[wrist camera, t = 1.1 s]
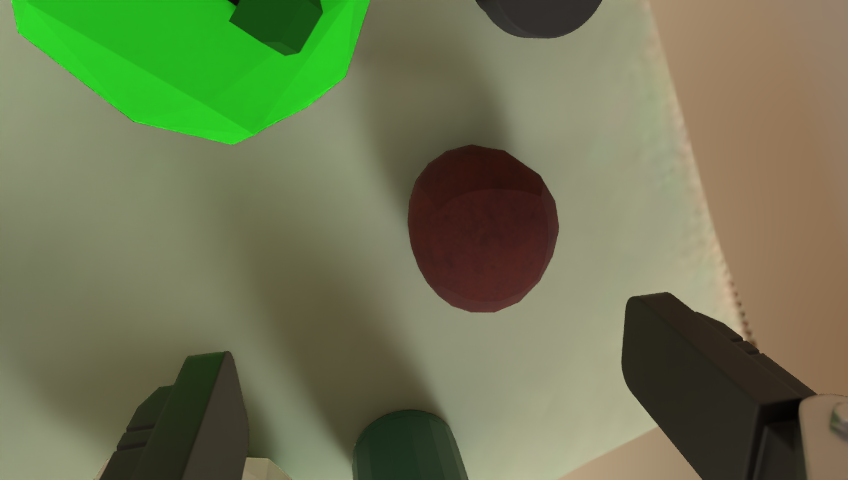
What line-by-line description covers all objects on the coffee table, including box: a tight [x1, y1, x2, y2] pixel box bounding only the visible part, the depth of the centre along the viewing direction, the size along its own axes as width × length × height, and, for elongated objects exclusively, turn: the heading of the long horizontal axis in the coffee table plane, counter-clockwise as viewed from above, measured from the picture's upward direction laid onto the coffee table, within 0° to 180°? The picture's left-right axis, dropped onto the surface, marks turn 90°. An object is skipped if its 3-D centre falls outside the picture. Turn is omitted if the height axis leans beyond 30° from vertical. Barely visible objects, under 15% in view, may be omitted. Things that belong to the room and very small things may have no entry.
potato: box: [408, 145, 559, 312], centre depth 26 cm, size 7×8×6 cm
